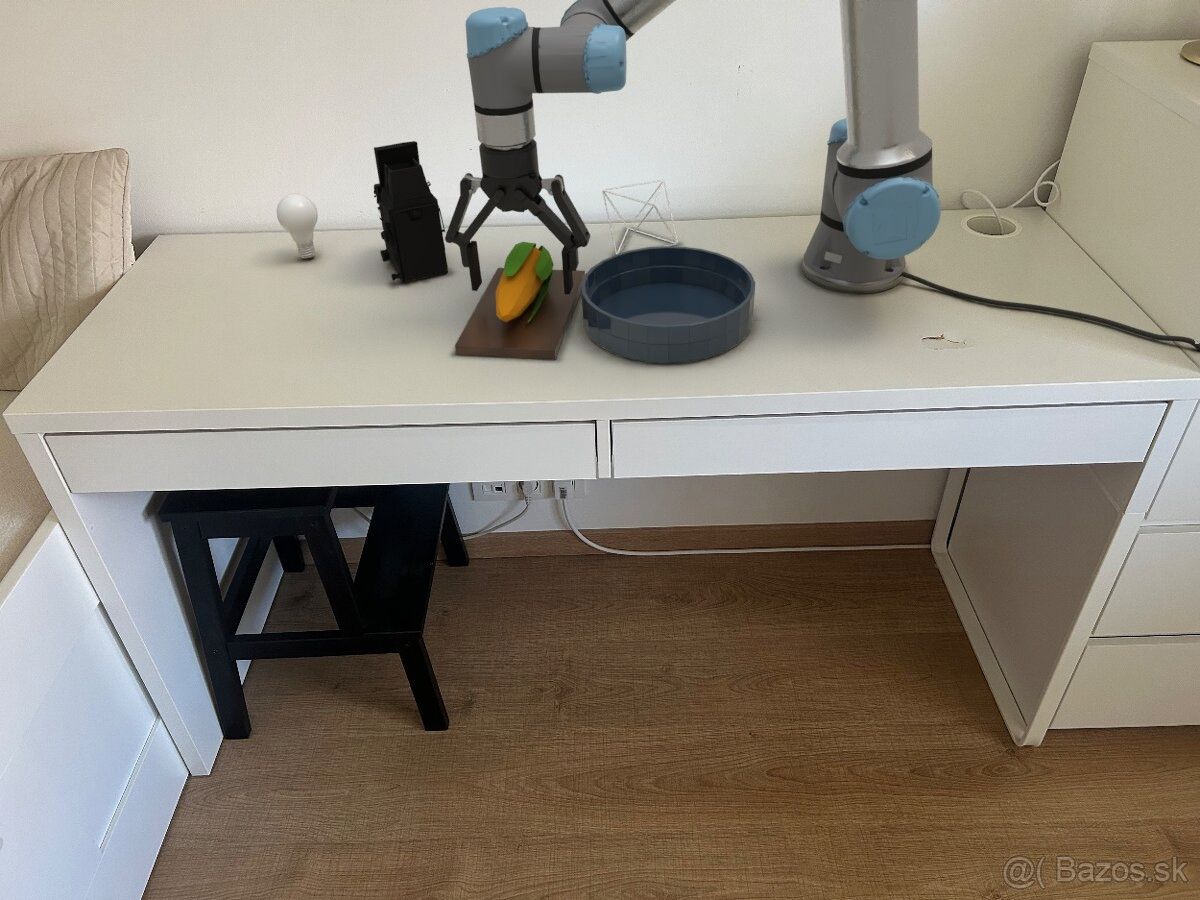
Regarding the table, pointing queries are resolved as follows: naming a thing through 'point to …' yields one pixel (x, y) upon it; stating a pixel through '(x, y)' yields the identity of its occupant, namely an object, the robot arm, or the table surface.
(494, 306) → the walnut board
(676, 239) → the geometric polyhedron
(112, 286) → the table surface
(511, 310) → the corn
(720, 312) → the bowl
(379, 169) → the camera
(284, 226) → the lightbulb
